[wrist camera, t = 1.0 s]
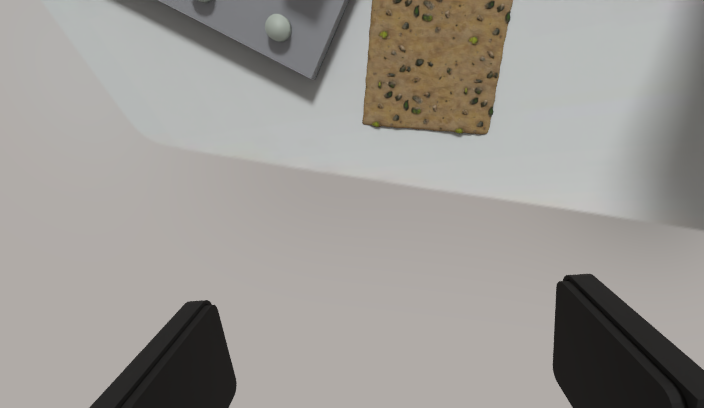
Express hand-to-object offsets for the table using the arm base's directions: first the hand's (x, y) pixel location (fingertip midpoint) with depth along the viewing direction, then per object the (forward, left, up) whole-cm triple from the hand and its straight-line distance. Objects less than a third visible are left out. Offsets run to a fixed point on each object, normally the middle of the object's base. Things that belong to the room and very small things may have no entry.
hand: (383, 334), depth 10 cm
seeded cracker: (-10, 0, -27) cm, 29 cm away
